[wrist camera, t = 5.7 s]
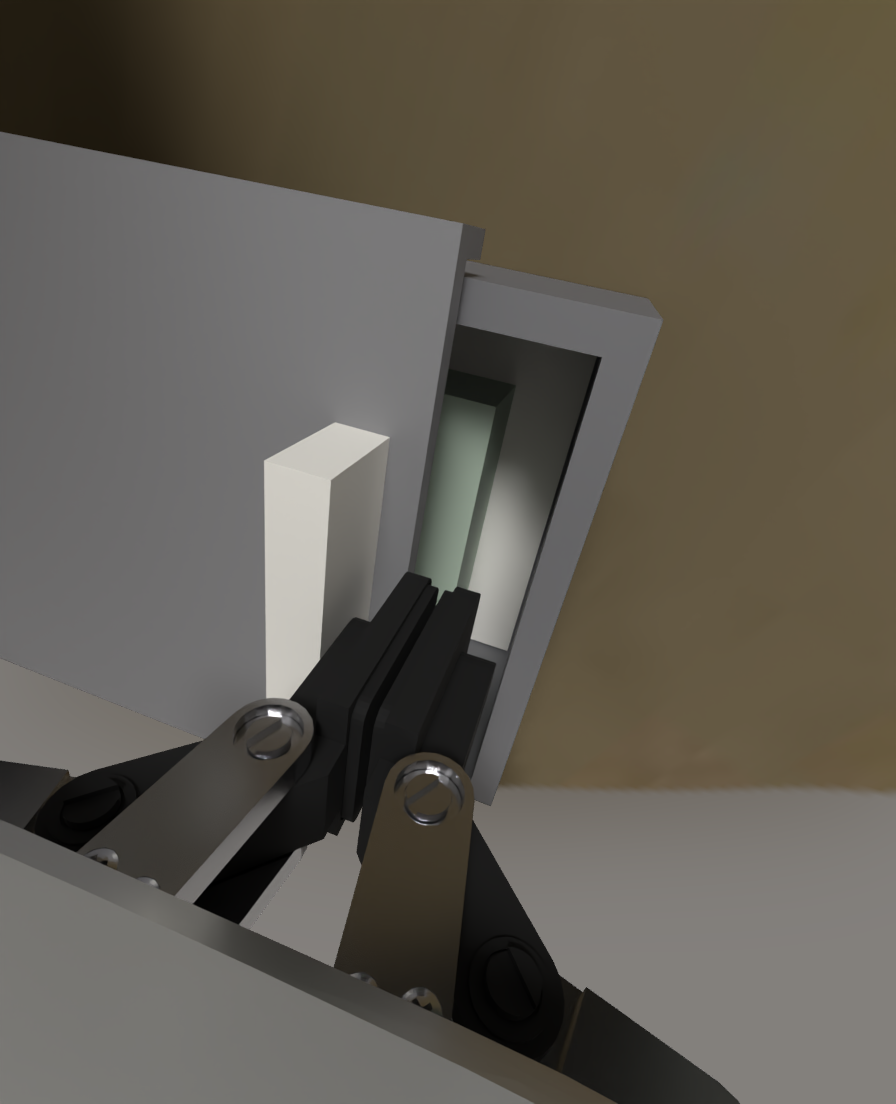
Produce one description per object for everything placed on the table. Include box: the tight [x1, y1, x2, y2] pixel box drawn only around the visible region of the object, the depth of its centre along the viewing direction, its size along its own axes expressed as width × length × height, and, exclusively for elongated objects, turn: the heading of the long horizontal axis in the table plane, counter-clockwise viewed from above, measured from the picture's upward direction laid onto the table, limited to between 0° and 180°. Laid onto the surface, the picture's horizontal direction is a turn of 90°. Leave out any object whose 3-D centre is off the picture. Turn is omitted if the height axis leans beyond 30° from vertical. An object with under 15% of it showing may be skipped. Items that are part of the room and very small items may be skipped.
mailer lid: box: [0, 132, 485, 739], centre depth 14 cm, size 16×18×4 cm
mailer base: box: [414, 261, 663, 806], centre depth 17 cm, size 14×18×7 cm
